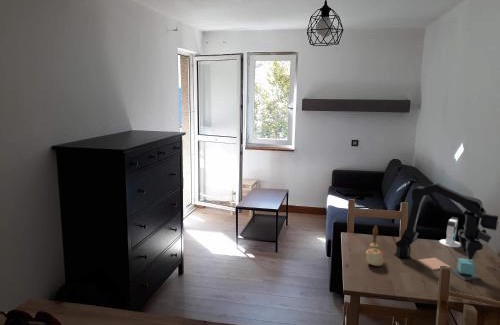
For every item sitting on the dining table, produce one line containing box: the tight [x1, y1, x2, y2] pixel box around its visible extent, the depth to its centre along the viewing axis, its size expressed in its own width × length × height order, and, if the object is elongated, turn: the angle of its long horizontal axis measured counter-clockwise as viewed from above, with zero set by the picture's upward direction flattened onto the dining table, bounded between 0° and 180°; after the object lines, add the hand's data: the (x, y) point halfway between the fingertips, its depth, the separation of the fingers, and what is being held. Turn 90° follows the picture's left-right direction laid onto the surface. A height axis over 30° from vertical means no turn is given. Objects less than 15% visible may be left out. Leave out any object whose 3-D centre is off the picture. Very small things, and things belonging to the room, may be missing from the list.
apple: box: [365, 248, 386, 267], centre depth 195 cm, size 9×9×8 cm
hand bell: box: [365, 225, 380, 255], centre depth 208 cm, size 8×8×16 cm
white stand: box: [438, 216, 462, 248], centre depth 225 cm, size 12×11×15 cm
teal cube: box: [456, 257, 476, 275], centre depth 187 cm, size 6×6×5 cm
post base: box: [450, 268, 481, 281], centre depth 187 cm, size 9×9×6 cm
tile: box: [417, 257, 452, 271], centre depth 198 cm, size 11×11×1 cm
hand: (467, 255), depth 186 cm, fingers open, 9 cm apart
